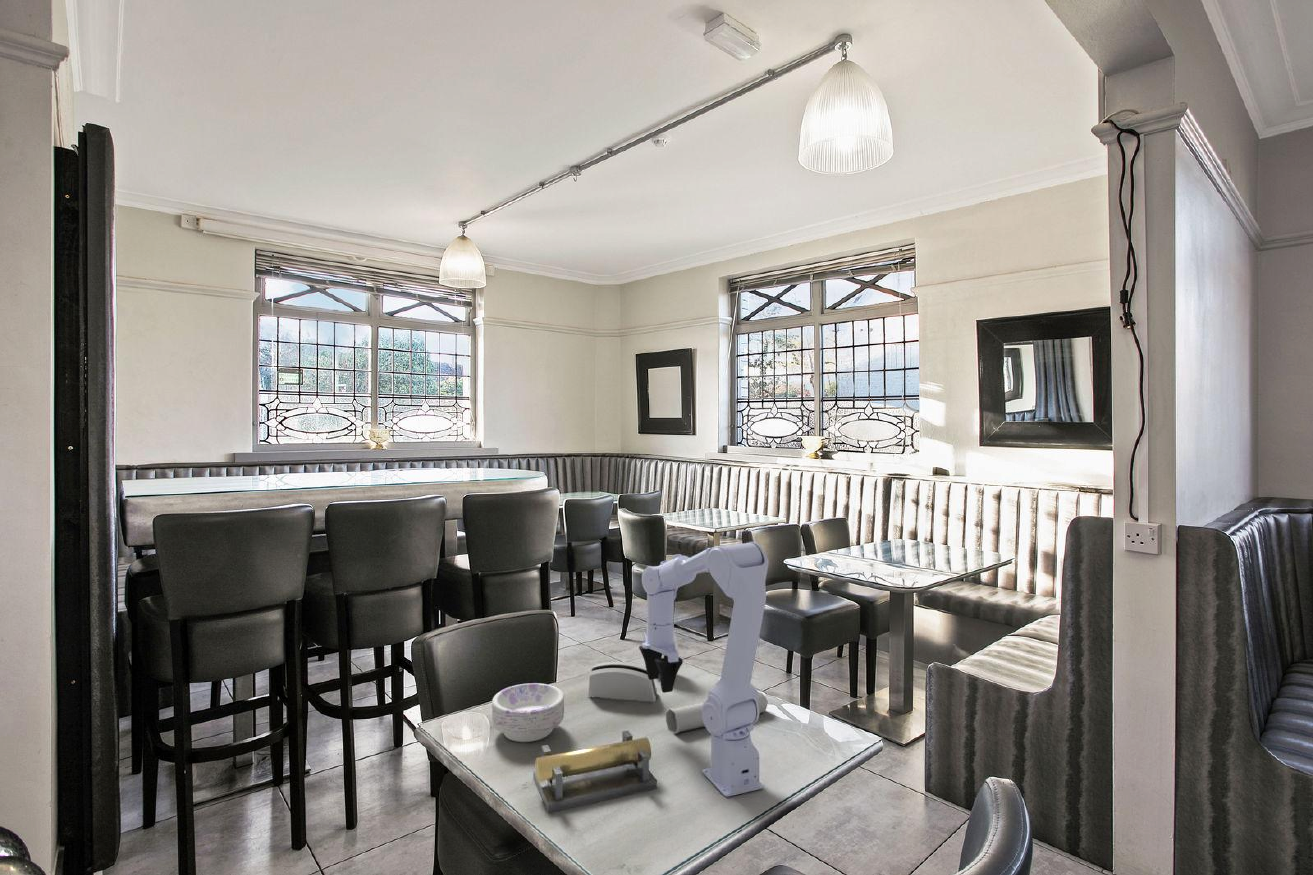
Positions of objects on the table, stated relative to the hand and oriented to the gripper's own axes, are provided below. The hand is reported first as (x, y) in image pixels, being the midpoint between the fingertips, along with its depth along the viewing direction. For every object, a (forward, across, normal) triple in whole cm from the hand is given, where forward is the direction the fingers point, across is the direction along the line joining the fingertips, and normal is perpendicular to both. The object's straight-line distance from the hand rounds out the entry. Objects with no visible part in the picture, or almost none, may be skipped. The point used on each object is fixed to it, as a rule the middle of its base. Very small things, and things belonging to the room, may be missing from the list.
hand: (660, 685), depth 142 cm
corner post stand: (+10, +14, -19) cm, 26 cm away
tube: (+11, -1, +15) cm, 19 cm away
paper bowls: (+11, -11, -26) cm, 30 cm away
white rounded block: (+11, -21, -1) cm, 24 cm away
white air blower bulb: (+11, -31, +14) cm, 36 cm away
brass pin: (+8, +14, -19) cm, 25 cm away
